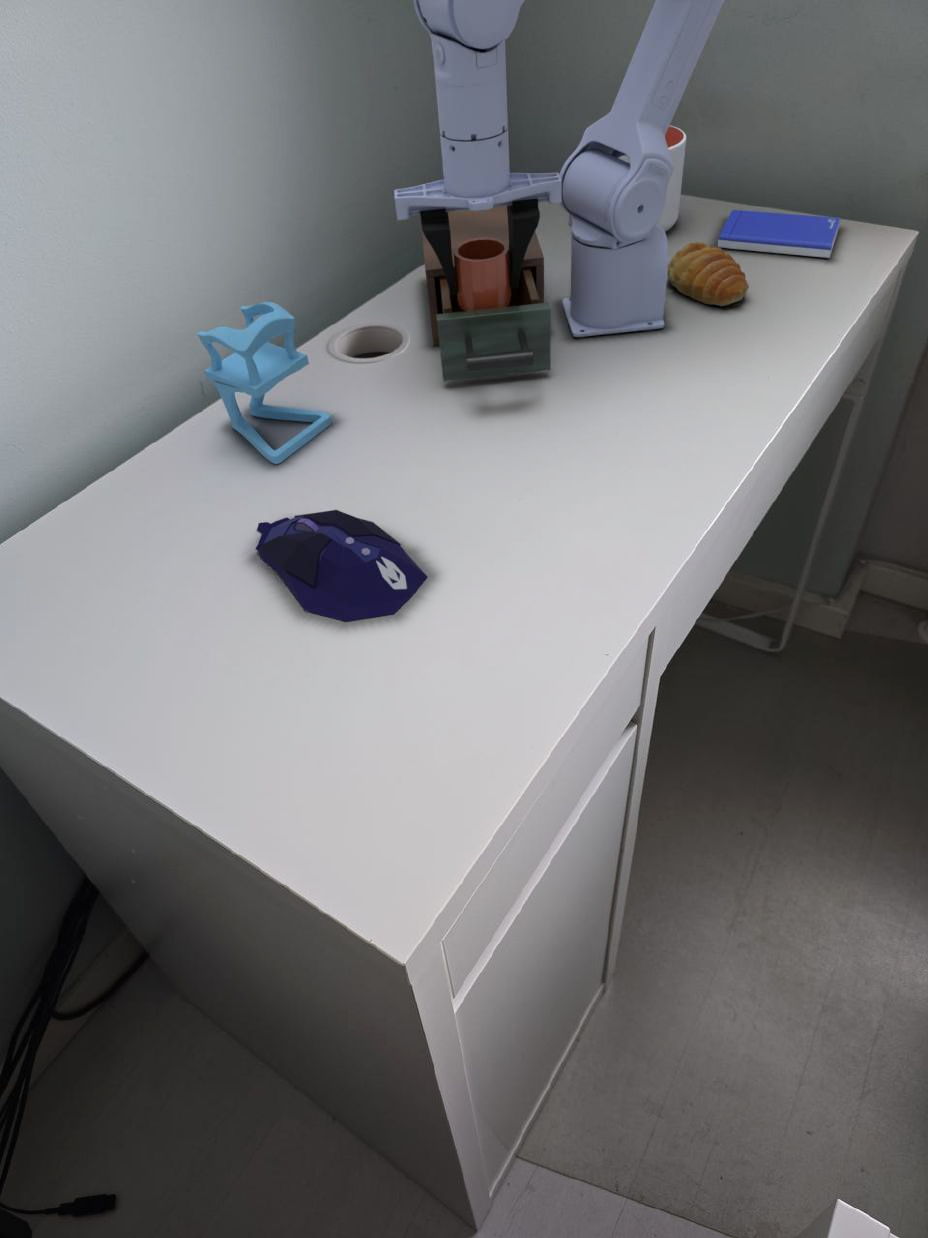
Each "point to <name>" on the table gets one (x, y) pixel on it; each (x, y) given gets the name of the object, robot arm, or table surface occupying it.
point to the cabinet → (472, 227)
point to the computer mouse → (339, 564)
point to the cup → (672, 177)
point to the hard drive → (780, 233)
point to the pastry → (707, 275)
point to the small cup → (482, 274)
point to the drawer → (495, 334)
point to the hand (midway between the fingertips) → (483, 286)
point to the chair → (260, 374)
